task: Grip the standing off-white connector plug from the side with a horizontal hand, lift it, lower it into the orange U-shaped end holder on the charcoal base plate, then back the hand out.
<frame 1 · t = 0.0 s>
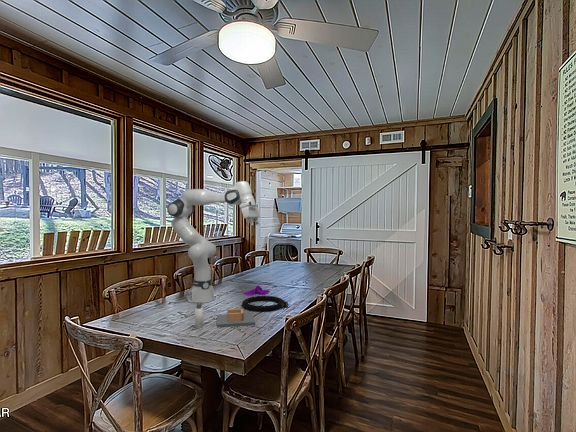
hand: (254, 224, 211), 52 cm above the table, tool tilted 20°, fingers open, 8 cm apart
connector: (198, 327, 171), on the table
cloth: (259, 294, 243), on the table
holder: (235, 321, 181), on the table
cable lock: (265, 306, 211), on the table
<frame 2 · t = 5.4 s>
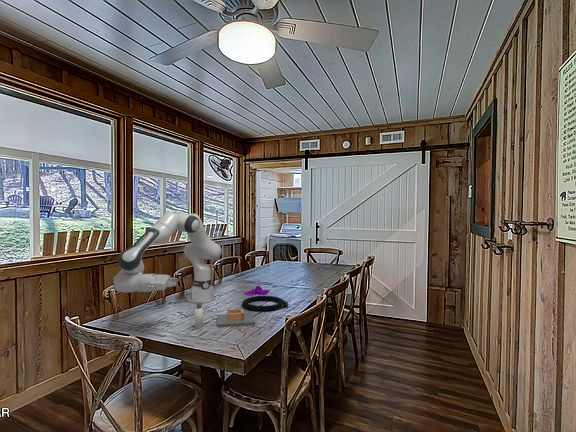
hand: (177, 281, 168), 24 cm above the table, tool horizontal, fingers open, 8 cm apart
nothing on the table moved.
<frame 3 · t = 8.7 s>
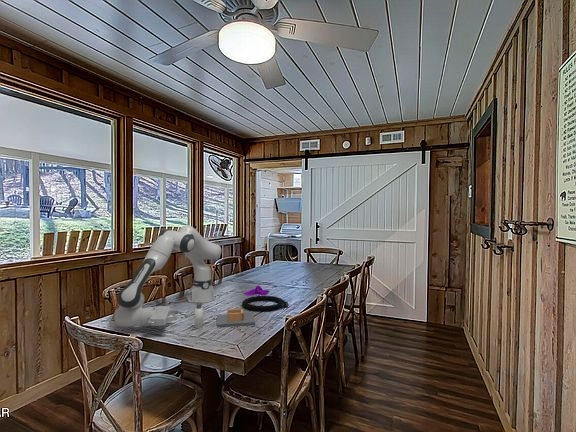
hand: (178, 314, 169), 7 cm above the table, tool horizontal, fingers open, 8 cm apart
nothing on the table moved.
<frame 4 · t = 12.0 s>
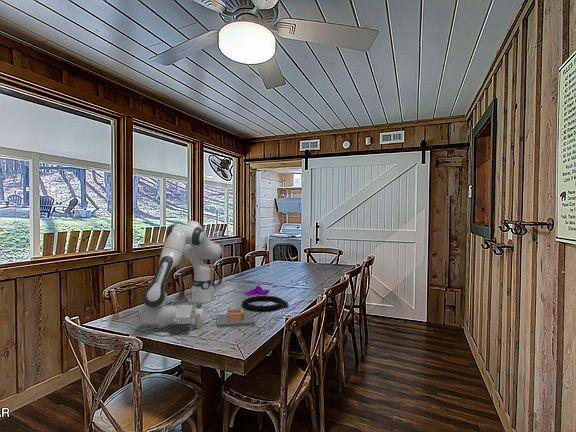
hand: (200, 313, 171), 7 cm above the table, tool horizontal, fingers closed on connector, 4 cm apart
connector: (198, 327, 171), on the table, touching gripper
everything else where it was.
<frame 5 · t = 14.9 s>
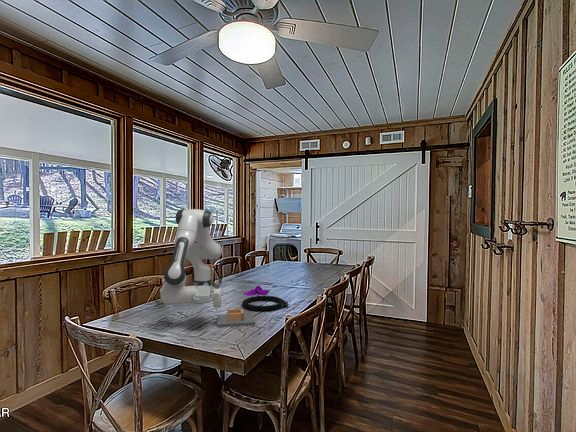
hand: (218, 293, 176), 17 cm above the table, tool horizontal, fingers closed on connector, 4 cm apart
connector: (217, 306, 176), point 9 cm above the table, touching gripper
everything else where it was.
when the fingers open (10 cm above the table, at t = 17.8 s): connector drops 1 cm, resting on holder.
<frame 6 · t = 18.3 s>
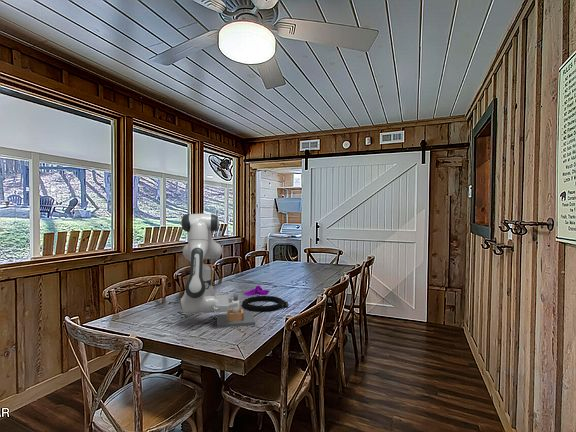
hand: (237, 302, 181), 10 cm above the table, tool horizontal, fingers open, 8 cm apart
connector: (235, 318, 181), point 2 cm above the table, touching holder
everything else where it was.
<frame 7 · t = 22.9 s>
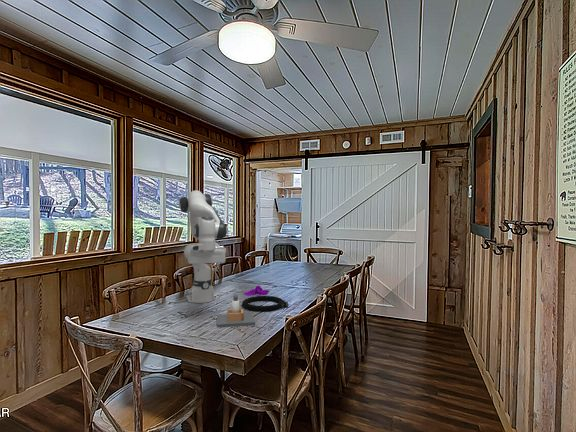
hand: (206, 271, 180), 28 cm above the table, tool pointing down, fingers open, 8 cm apart
nothing on the table moved.
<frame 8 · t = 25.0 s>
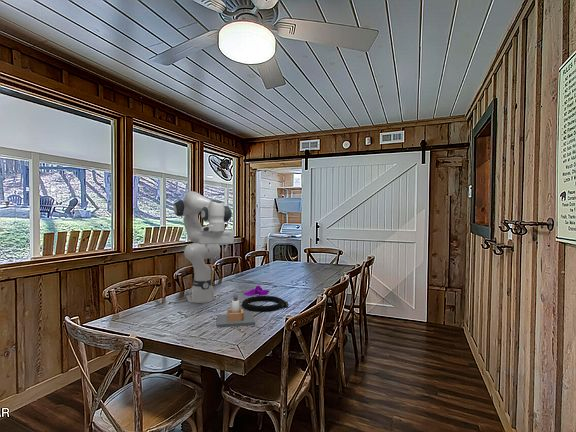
hand: (216, 251, 190), 37 cm above the table, tool pointing down, fingers open, 8 cm apart
nothing on the table moved.
at the end: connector 0.0 cm off-centre on the holder, point 1.5 cm above the holder's base; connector tilted 0°; the gripper is holding nothing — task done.
